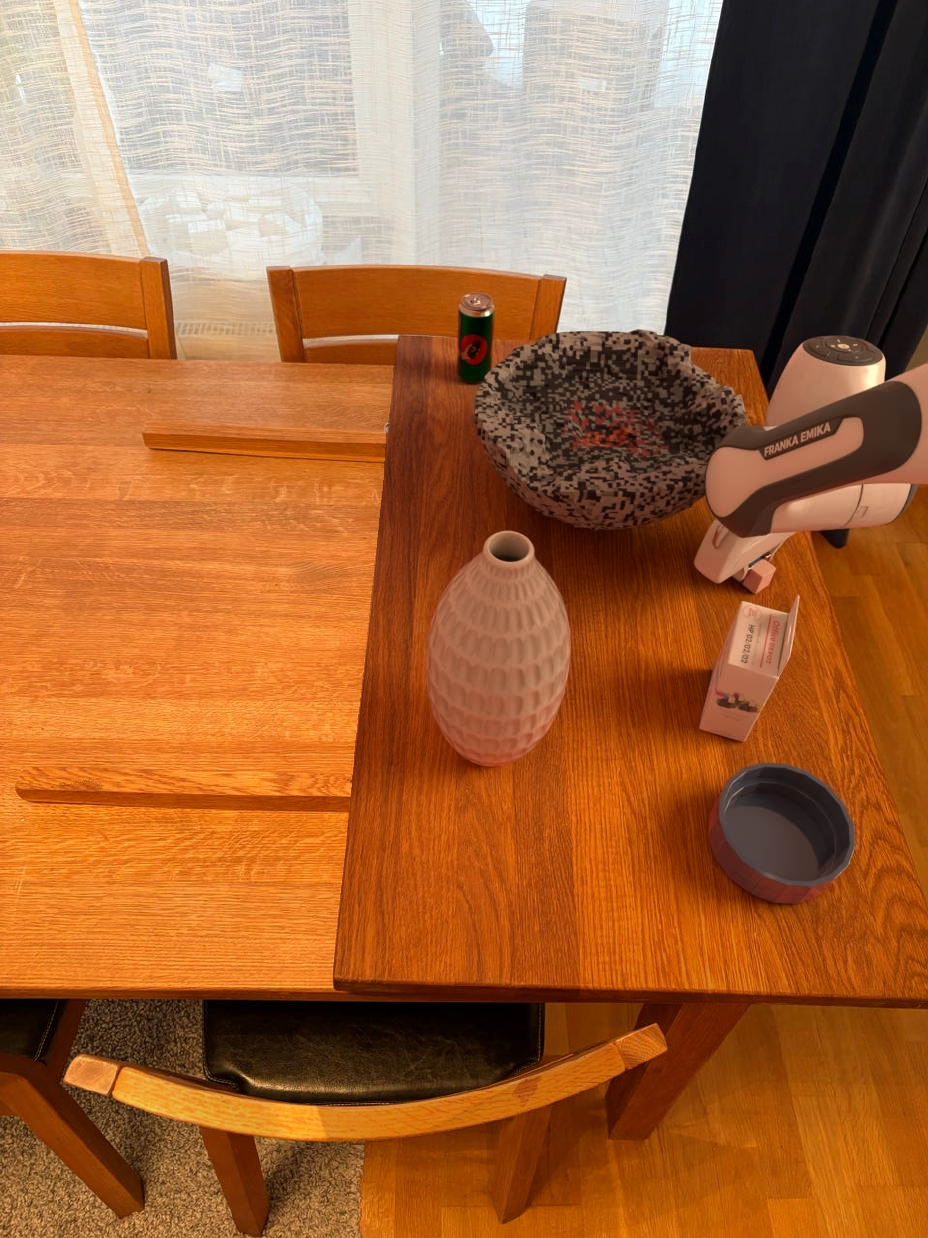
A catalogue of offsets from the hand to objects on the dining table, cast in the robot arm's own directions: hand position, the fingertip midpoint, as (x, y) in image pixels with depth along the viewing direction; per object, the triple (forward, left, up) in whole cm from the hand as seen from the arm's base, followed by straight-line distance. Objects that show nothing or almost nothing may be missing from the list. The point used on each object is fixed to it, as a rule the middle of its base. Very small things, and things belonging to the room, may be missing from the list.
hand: (749, 567), depth 101 cm
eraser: (0, 0, -2) cm, 2 cm away
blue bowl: (-14, +31, -2) cm, 34 cm away
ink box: (-5, +18, -2) cm, 19 cm away
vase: (+14, +36, -2) cm, 39 cm away
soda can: (+48, -16, -2) cm, 51 cm away
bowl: (+22, -3, -2) cm, 22 cm away
